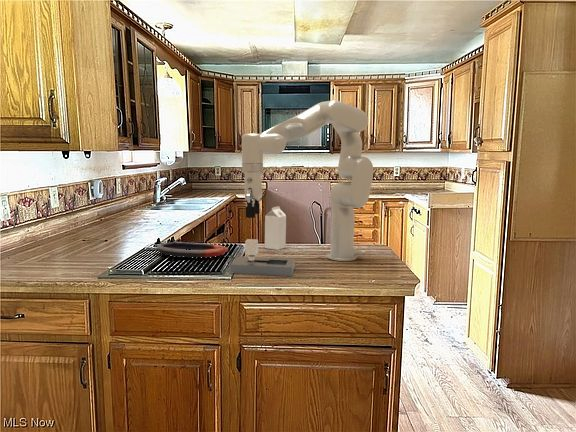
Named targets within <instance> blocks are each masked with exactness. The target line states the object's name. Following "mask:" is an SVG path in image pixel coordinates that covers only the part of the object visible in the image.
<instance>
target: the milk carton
mask: <svg viewBox="0 0 576 432" xmlns="http://www.w3.org/2000/svg"><path fill="white" fill-rule="evenodd" d="M286 234H287V215H286V213H285V212H283V210H282V209H281V207H280V205H278V206H274V207H271V210H269V212H267V214H265V215H264V249H269V250H274V251H275V250H276V251H280V250H282V249H285V248H286V245H287V244H286V242H287V241H286V240H287V239H286V238H287V237H286V236H287V235H286Z"/></svg>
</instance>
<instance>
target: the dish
mask: <svg viewBox="0 0 576 432" xmlns="http://www.w3.org/2000/svg"><path fill="white" fill-rule="evenodd" d="M156 248H157V250H158V252H159V253H160V254H161V253H163V254H167V255H173V256H185V257H212V256H220V255H222V256H223V255H225V253H227V252H228V251H229V248H228V246H223V245H220V244H215V243H214V244H213V243H205V242H204V243H203V242H188V241H187V242H185V241H184V242H183V241H182V242H181V241H178V240H174V241H173V242H162V243H159V244H157V245H156ZM186 249H192V250H186ZM163 254H162V255H163ZM220 257H221V256H220Z"/></svg>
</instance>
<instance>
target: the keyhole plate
mask: <svg viewBox="0 0 576 432" xmlns="http://www.w3.org/2000/svg"><path fill="white" fill-rule="evenodd" d="M229 267H230V271H231V272H233V273H232V274H237V275H239V274H240V275H256V276H257V275H261V276H277V277H278V276H279V277H280V276H281V277H292V276H293V274H294V270H295V267H296V258H288V257H287V258H285V257H262V256H255V262H248V256H243V255H242V256H241V255H240V256H239V255H238V256H237V257H236V258H235V259H234V261H232V263H231V264H230V266H229Z"/></svg>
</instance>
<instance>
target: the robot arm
mask: <svg viewBox="0 0 576 432" xmlns="http://www.w3.org/2000/svg"><path fill="white" fill-rule="evenodd" d="M329 124H330V125H331V124H332V126H333V129H334V130H335V132H336V133H337V134H338V136H339V139H340V142H341V147H340V153H339V160H338V165H337V174H338V176H339V177H340V178H341V179H345V180H348V181H349V180H351V181H350V182H344V181H342V182H337V183H335V184H333V186H332V187H331V189H330V193H329V198H330V199H329V200H330V207H331V221H330V222H331V224H330V247H329V248H330V250H329V251H330V252H328V253H326V256H325V257H326V258H327V259H329V260H333V261H339V262H349V261H350V262H351V261H355V260H357V258H358V257H357V255H358V256H359V255H360V256H364V255H365V250H363V249H356V248H355V246H354V242H355V238H354V237H355V220H356V219H355V217H356V216H355V210H354V208H355V209H361V208H363V207H365V206H366V205H367V203H368V201H369V197H370V194H371V189H372V183H373V178H374V166H373V162H372V160H371V159H369V158H368V157H365V156H362V153H363V151H362V150H363V140H362V137H361V134H360V133H361V132H363V131H364V130H366V129H367V127H368V125H369V117H368V115H367V113H366V112H365V111H364V110H362V109H360V108H359V107H355V106H353V105H351V104H349V103H345V102H343V101H340V100H336V99H332V100H327V101H321V102H319V103H316V104H314V105H313V106H310V107H309V108H308V109H306V110H304V111H303V112H301V113H299V114H296V115H295V116H294V117H291V118H288V119H287V120H285V121H283V122H281V123H279V124H277V125H273V126H272V127H271V128H269V129H266V130H265V131H263V132H261V133H252V132H251V133H244V134H242V136H241V173H243V174H244V200H245V218H249V219H250V218H251V219H255V218H256V215H259V214H260V212H261V209H260V205H261V204H260V200H261V199H262V198H263V184H262V183H263V181H262V174H263V173H264V155H278V154H281V153H282V152H283V151H284V150H285V149H286V145H287V143H288V142H291V141H295V140H300V139H303V138H306V137H308V136H309V135H311V134H312V133H314V132H316V131H317V130H320V129H322V127H324V126H326V125H329Z"/></svg>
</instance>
